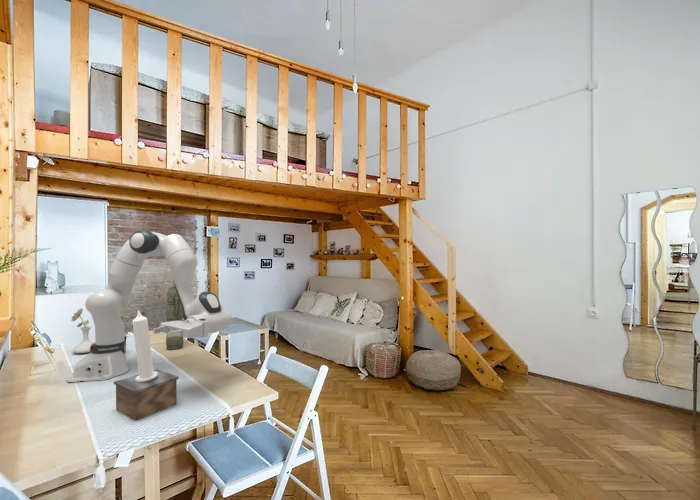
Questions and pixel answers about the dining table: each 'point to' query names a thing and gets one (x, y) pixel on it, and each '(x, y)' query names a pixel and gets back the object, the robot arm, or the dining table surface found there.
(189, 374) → the dining table surface
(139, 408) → the walnut pedestal
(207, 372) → the dining table surface
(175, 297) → the thermos
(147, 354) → the candle
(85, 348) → the flower in vase
